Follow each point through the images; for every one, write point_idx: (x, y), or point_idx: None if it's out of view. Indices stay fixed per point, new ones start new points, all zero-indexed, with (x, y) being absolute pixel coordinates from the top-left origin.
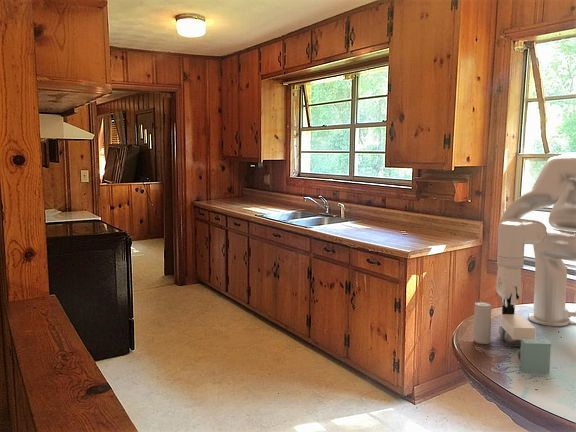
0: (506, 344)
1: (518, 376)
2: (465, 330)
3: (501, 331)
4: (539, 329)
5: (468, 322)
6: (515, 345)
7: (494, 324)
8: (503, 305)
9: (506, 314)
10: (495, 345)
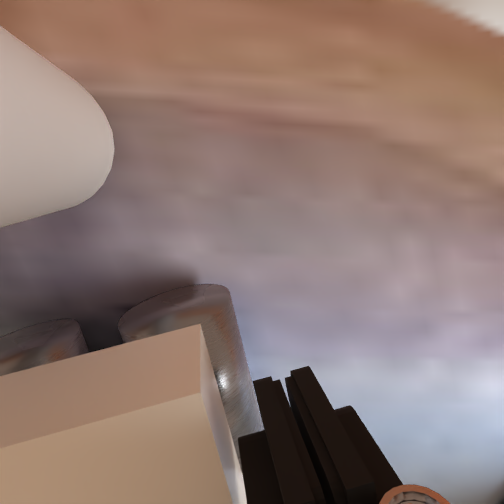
0: (40, 325)
1: None
2: (289, 12)
3: (162, 314)
4: None
5: (489, 53)
6: None
7: (469, 253)
8: (372, 496)
9: (207, 459)
10: (8, 246)
